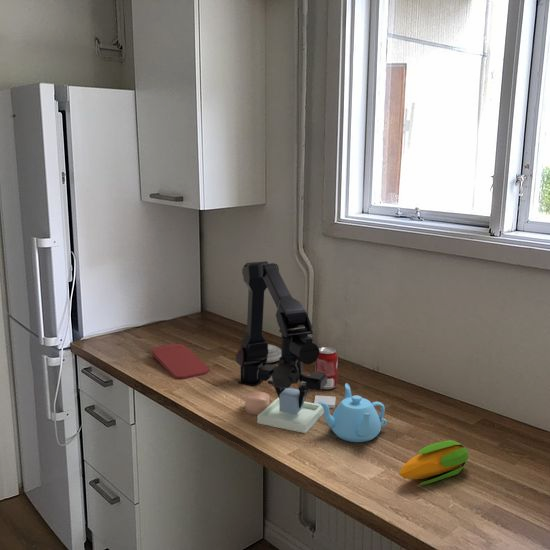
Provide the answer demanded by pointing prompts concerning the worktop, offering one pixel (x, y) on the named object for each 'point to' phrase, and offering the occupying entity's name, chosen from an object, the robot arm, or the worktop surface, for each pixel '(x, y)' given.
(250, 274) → the robot arm
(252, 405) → the pink rounded piece
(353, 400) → the teapot
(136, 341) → the worktop surface
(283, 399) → the blue block
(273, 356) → the flying saucer
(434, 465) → the corn
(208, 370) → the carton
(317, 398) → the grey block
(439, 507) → the worktop surface
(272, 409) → the tray
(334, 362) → the soda can
